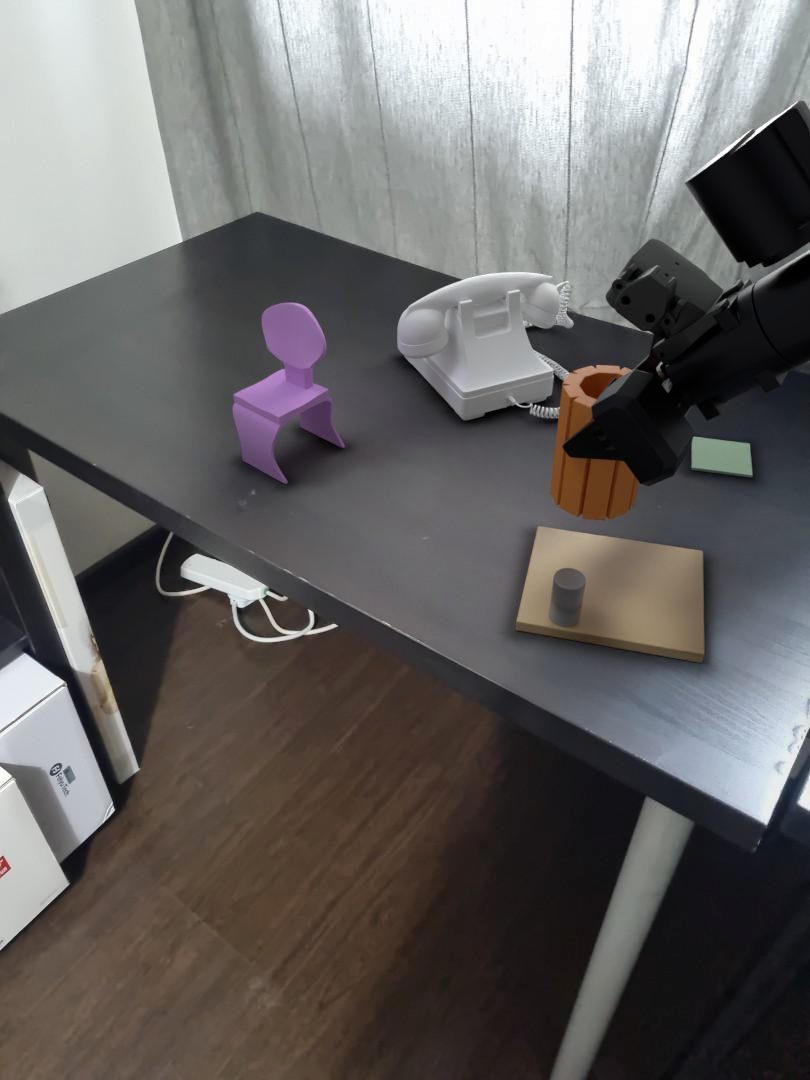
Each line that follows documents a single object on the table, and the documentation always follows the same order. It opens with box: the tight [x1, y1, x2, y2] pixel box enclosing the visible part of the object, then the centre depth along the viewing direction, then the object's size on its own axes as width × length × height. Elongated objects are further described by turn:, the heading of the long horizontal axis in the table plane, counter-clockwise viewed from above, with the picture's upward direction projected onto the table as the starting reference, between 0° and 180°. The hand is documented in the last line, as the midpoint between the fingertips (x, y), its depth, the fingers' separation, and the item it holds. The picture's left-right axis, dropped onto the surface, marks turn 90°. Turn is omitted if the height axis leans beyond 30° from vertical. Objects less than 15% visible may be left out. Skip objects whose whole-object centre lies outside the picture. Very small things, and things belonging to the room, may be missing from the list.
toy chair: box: [232, 302, 346, 485], centre depth 78 cm, size 8×9×15 cm
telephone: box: [396, 271, 575, 421], centre depth 90 cm, size 25×21×12 cm
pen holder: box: [549, 364, 640, 521], centre depth 61 cm, size 6×7×10 cm
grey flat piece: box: [690, 436, 754, 479], centre depth 82 cm, size 6×6×1 cm
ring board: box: [515, 525, 706, 664], centre depth 66 cm, size 14×12×5 cm
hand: (585, 428), depth 61 cm, fingers closed on pen holder, 6 cm apart
